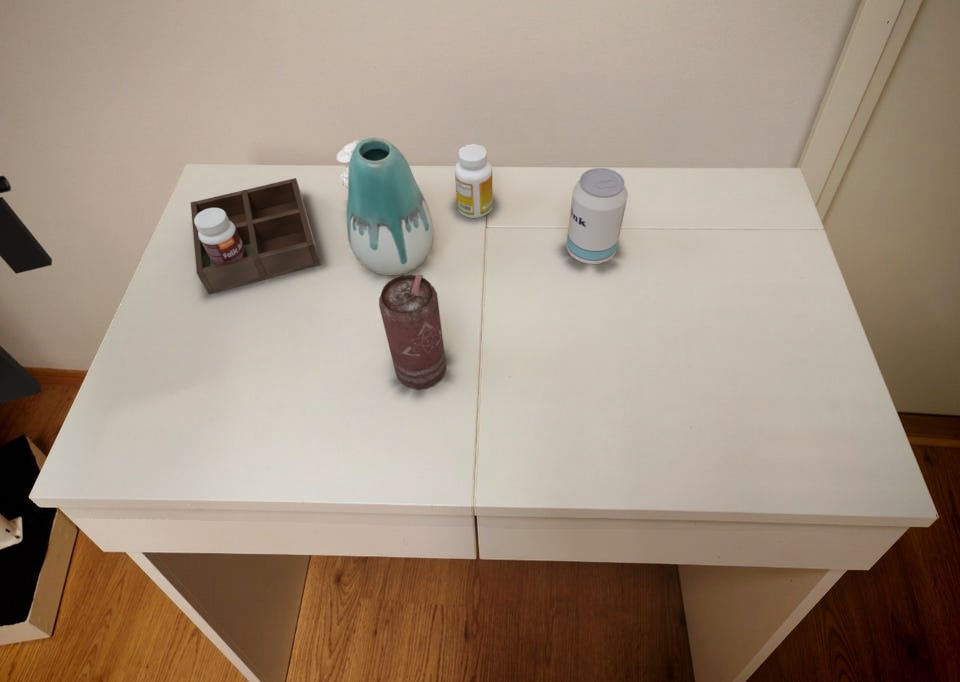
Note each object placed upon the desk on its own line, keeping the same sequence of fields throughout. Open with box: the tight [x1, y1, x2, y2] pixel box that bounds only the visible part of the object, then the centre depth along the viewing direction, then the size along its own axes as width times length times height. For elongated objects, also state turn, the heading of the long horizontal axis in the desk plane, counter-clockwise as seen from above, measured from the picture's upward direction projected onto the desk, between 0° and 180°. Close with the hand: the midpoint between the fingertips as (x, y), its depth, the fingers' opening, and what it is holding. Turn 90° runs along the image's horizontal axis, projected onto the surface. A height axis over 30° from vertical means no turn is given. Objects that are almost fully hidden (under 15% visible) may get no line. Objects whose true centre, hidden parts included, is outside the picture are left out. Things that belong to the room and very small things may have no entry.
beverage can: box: [566, 167, 629, 265], centre depth 79 cm, size 7×7×12 cm
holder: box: [190, 177, 321, 295], centre depth 85 cm, size 15×15×4 cm
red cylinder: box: [378, 274, 447, 390], centre depth 66 cm, size 6×6×14 cm
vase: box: [345, 137, 435, 276], centre depth 77 cm, size 12×12×18 cm
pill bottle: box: [194, 208, 249, 265], centre depth 80 cm, size 5×5×8 cm
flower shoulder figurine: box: [336, 140, 361, 189], centre depth 86 cm, size 9×4×12 cm, turn 1°
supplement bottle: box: [454, 143, 494, 219], centre depth 86 cm, size 5×5×10 cm
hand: (28, 325), depth 45 cm, fingers open, 13 cm apart
